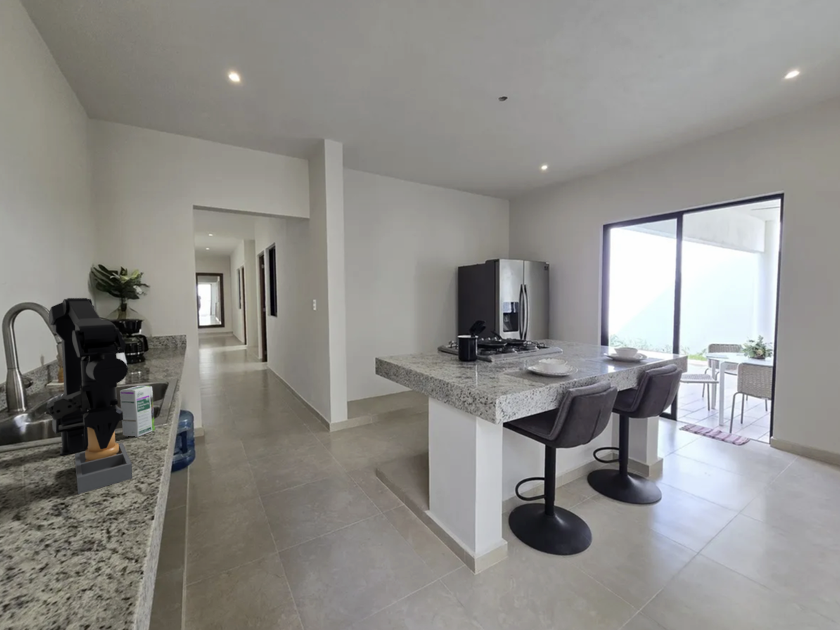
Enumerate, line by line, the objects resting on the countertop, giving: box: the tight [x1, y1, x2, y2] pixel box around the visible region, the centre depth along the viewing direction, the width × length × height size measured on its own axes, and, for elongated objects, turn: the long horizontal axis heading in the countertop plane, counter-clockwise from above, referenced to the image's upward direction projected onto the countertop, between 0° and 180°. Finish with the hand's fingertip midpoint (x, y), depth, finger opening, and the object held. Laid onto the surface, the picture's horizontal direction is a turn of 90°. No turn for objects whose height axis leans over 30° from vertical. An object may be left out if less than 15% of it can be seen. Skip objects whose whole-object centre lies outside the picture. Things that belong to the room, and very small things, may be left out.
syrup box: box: [119, 384, 156, 438], centre depth 110 cm, size 6×6×14 cm
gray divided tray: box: [74, 442, 133, 495], centre depth 85 cm, size 17×9×6 cm, turn 45°
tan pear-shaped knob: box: [84, 427, 120, 460], centre depth 82 cm, size 6×6×7 cm
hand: (102, 445), depth 82 cm, fingers closed on tan pear-shaped knob, 5 cm apart
